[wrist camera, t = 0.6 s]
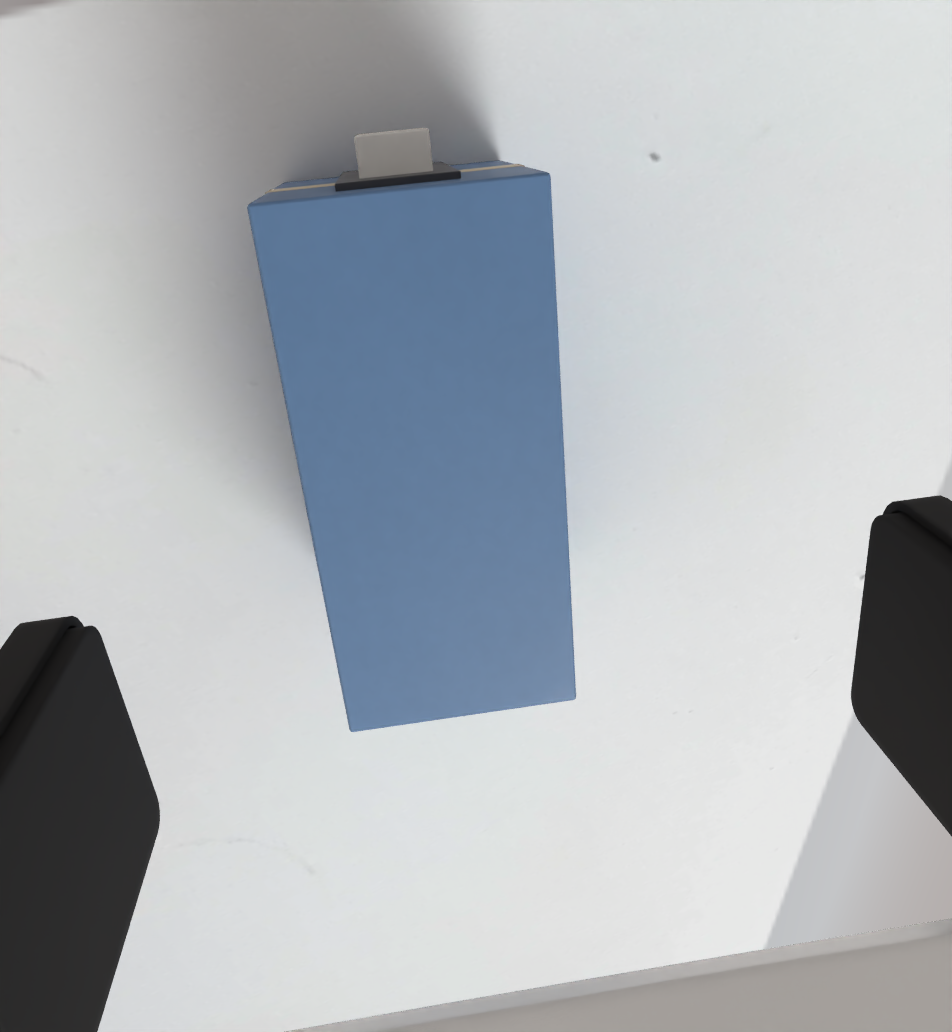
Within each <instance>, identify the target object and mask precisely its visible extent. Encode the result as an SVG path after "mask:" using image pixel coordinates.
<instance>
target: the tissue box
mask: <svg viewBox="0 0 952 1032" xmlns="http://www.w3.org/2000/svg"><path fill="white" fill-rule="evenodd" d="M354 142H355V149H356V156H357V164H358V170H357V171H347V172H343V173H342V174H341V176H340V177H335V178H325V179H315V180H306V181H296V182H287V183H283V184H281V185H279V186H278V187H276V188H275V189H272V190H269V191H268V192H266V193H265V195H263V196H262V197H260V198H258V199H257V200H255V201H253V202H252V203H250V204H249V205H248V207H247V209H248V214H249V219H250V225H251V230H252V235H253V240H254V245H255V250H256V255H257V260H258V265H259V270H260V276H261V281H262V286H263V291H264V296H265V301H266V306H267V311H268V316H269V321H270V326H271V332H272V337H273V342H274V347H275V352H276V357H277V362H278V367H279V372H280V377H281V383H282V388H283V393H284V398H285V403H286V408H287V413H288V418H289V423H290V428H291V434H292V439H293V444H294V449H295V454H296V459H297V464H298V469H299V474H300V479H301V484H302V490H303V495H304V500H305V505H306V510H307V515H308V520H309V525H310V530H311V535H312V541H313V546H314V551H315V556H316V561H317V566H318V571H319V576H320V581H321V586H322V592H323V597H324V602H325V607H326V612H327V617H328V622H329V627H330V632H331V637H332V642H333V648H334V653H335V658H336V663H337V668H338V673H339V678H340V683H341V688H342V693H343V699H344V704H345V709H346V714H347V719H348V724H349V729H350V731H351V732H356V731H363V730H370V729H377V728H384V727H391V726H397V725H404V724H411V723H418V722H425V721H432V720H439V719H445V718H452V717H459V716H466V715H473V714H480V713H487V712H493V711H500V710H507V709H514V708H521V707H528V706H535V705H541V704H548V703H555V702H562V701H569V700H574V699H575V698H576V688H575V668H574V647H573V627H572V606H571V586H570V566H569V545H568V525H567V504H566V484H565V464H564V443H563V423H562V403H561V382H560V362H559V341H558V321H557V301H556V280H555V260H554V239H553V219H552V199H551V178H550V174H549V173H547V172H544V171H540V170H536V169H532V168H528V167H525V166H524V165H520V164H512V163H508V162H504V161H500V160H498V161H488V162H479V163H469V164H459V165H450V166H449V165H447V164H445V163H443V162H434V163H432V154H431V144H430V135H429V130H428V129H427V128H415V129H405V130H395V131H385V132H375V133H365V134H358V135H356V136H354Z"/></svg>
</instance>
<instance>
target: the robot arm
mask: <svg viewBox="0 0 952 1032" xmlns="http://www.w3.org/2000/svg"><path fill="white" fill-rule="evenodd" d="M851 700H852V706H853V709H854V712H855V715H856V717H857V719H858V720H859V722H860V723H861V725H862V726H863V727H864V728H865V730H866V731H867V732H868V733H869V735H870V736H871V737H872V738H873V740H874V741H875V742H876V743H877V745H878V746H879V747H880V748H881V749H882V751H883V752H884V753H885V755H886V756H887V757H888V758H889V759H890V761H891V762H892V763H893V764H894V766H895V767H896V768H897V769H898V770H899V772H900V773H901V774H902V775H903V777H904V778H905V779H906V780H907V781H908V783H909V784H910V785H911V787H912V788H913V789H914V790H915V791H916V793H917V794H918V795H919V797H920V798H921V799H922V800H923V801H924V803H925V804H926V805H927V806H928V807H929V809H930V810H931V811H932V813H933V814H934V815H935V816H936V817H937V819H938V820H939V821H940V822H941V824H942V825H943V826H944V827H945V829H946V830H947V831H948V832H949V834H950V835H951V836H952V501H951V500H949V499H948V498H945V497H943V496H932V497H924V498H917V499H910V500H903V501H896V502H892V503H890V504H889V505H888V506H887V507H886V509H885V511H884V513H883V515H879V516H877V517H876V518H875V519H874V521H873V523H872V526H871V531H870V539H869V548H868V556H867V564H866V573H865V581H864V589H863V598H862V606H861V614H860V622H859V631H858V639H857V647H856V656H855V664H854V672H853V681H852V689H851ZM159 822H160V810H159V802H158V799H157V795H156V792H155V790H154V787H153V784H152V781H151V778H150V775H149V772H148V769H147V767H146V764H145V761H144V758H143V755H142V752H141V749H140V746H139V744H138V741H137V738H136V735H135V732H134V729H133V726H132V723H131V721H130V718H129V715H128V712H127V709H126V706H125V703H124V700H123V698H122V695H121V692H120V689H119V686H118V683H117V680H116V677H115V675H114V672H113V669H112V666H111V663H110V660H109V657H108V654H107V652H106V649H105V646H104V643H103V640H102V637H101V635H100V633H99V631H98V630H97V629H96V627H94V626H86V627H84V626H83V624H82V623H81V622H80V621H79V619H78V618H76V617H74V616H68V617H61V618H54V619H47V620H40V621H32V622H25V623H20V624H19V625H18V626H17V627H16V628H15V629H14V631H13V632H12V633H11V635H10V636H9V638H8V639H7V641H6V642H5V643H4V645H3V646H2V648H1V649H0V1032H97V1031H98V1027H99V1024H100V1021H101V1018H102V1014H103V1011H104V1008H105V1004H106V1001H107V998H108V995H109V991H110V988H111V985H112V981H113V978H114V975H115V972H116V968H117V965H118V962H119V958H120V955H121V952H122V949H123V945H124V942H125V939H126V935H127V932H128V929H129V926H130V922H131V919H132V916H133V912H134V909H135V906H136V903H137V899H138V896H139V893H140V889H141V886H142V883H143V880H144V876H145V873H146V870H147V866H148V863H149V860H150V857H151V853H152V850H153V847H154V843H155V840H156V837H157V834H158V829H159ZM286 1032H952V919H946V920H940V921H934V922H927V923H922V924H915V925H909V926H904V927H897V928H891V929H885V930H878V931H872V932H866V933H861V934H854V935H848V936H842V937H836V938H829V939H824V940H817V941H811V942H805V943H799V944H793V945H788V946H781V947H776V948H770V949H763V950H758V951H752V952H746V953H740V954H734V955H728V956H722V957H716V958H710V959H704V960H698V961H692V962H686V963H680V964H674V965H668V966H663V967H657V968H651V969H645V970H639V971H633V972H627V973H621V974H615V975H609V976H604V977H598V978H592V979H586V980H580V981H574V982H568V983H563V984H557V985H551V986H545V987H539V988H533V989H527V990H521V991H516V992H510V993H504V994H498V995H492V996H486V997H480V998H475V999H469V1000H463V1001H457V1002H451V1003H446V1004H440V1005H434V1006H429V1007H423V1008H417V1009H412V1010H406V1011H400V1012H394V1013H389V1014H383V1015H377V1016H372V1017H366V1018H360V1019H355V1020H349V1021H343V1022H337V1023H332V1024H326V1025H320V1026H315V1027H309V1028H303V1029H298V1030H292V1031H286Z"/></svg>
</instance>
